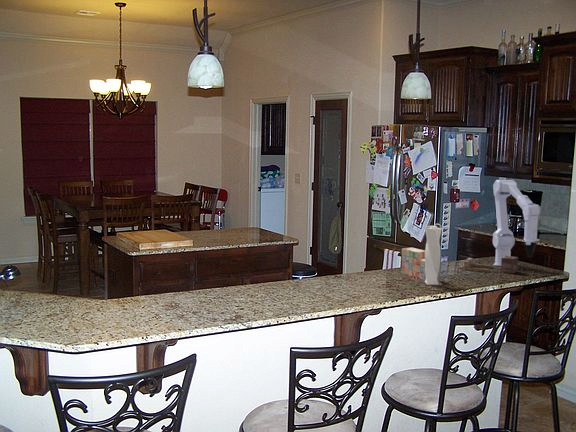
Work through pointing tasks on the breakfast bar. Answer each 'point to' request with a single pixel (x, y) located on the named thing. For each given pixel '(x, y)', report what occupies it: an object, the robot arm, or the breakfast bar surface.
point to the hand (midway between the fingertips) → (529, 257)
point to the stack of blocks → (413, 262)
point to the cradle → (470, 263)
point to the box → (509, 264)
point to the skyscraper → (432, 255)
